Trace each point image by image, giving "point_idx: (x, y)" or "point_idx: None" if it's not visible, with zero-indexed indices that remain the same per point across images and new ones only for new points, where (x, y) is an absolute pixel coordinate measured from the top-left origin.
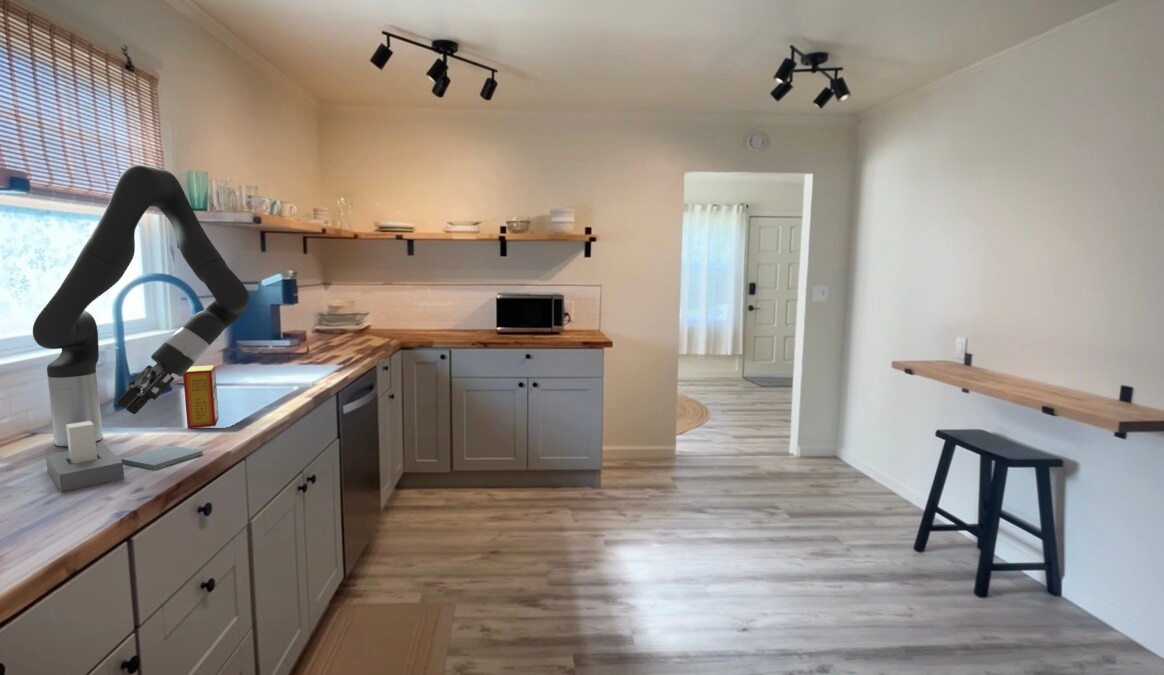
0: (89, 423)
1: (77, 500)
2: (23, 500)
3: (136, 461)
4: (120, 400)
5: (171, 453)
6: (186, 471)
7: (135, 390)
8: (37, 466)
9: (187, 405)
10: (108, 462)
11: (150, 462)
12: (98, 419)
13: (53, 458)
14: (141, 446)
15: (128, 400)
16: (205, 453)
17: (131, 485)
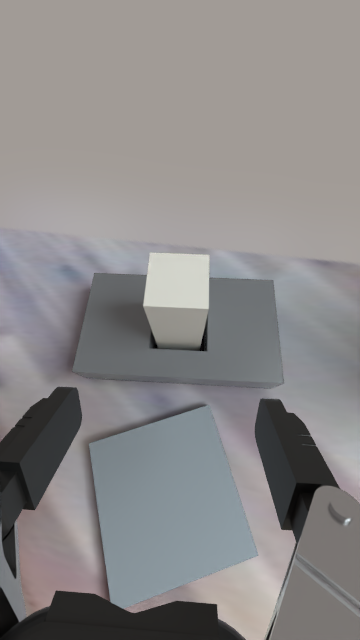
0: (167, 299)
1: (36, 297)
2: (112, 251)
3: (156, 423)
4: (267, 414)
5: (159, 519)
6: None
7: (300, 527)
8: (309, 290)
9: None
10: (99, 350)
11: (119, 445)
12: None
13: (230, 285)
14: (349, 491)
15: (268, 455)
16: None
17: (29, 375)
